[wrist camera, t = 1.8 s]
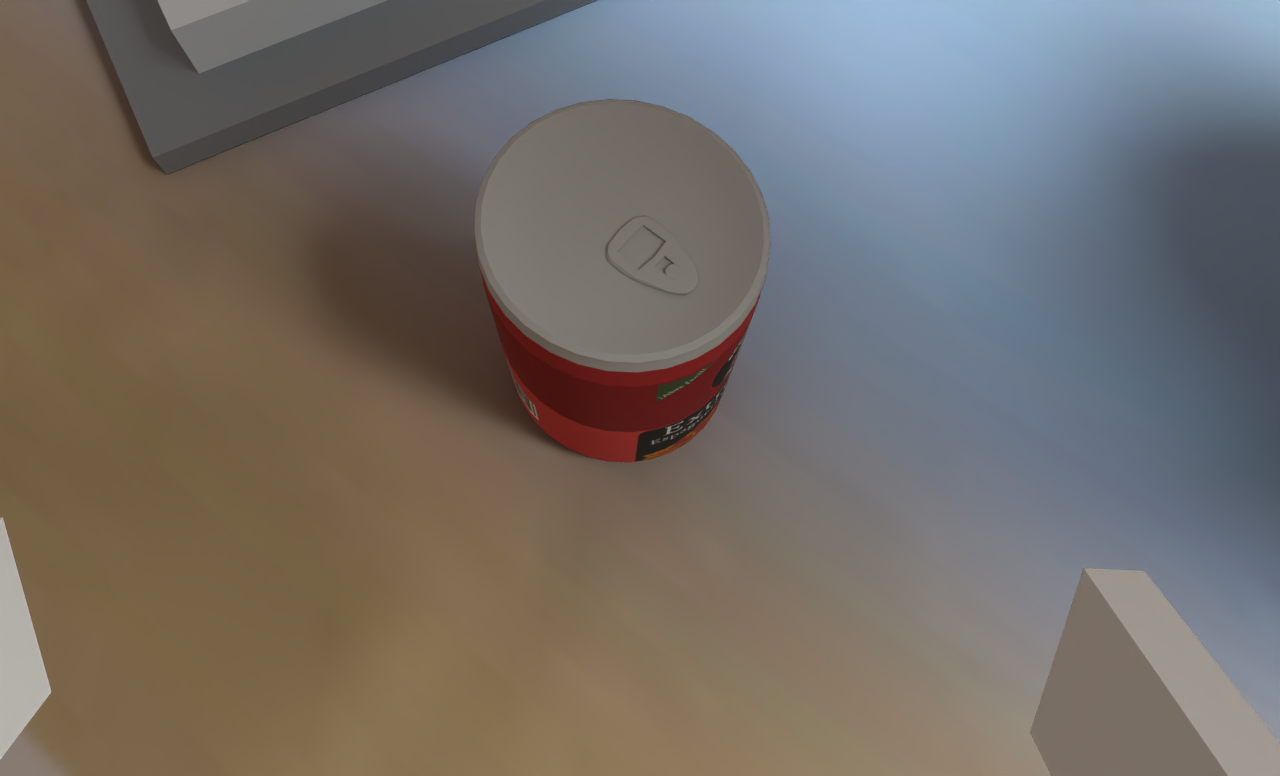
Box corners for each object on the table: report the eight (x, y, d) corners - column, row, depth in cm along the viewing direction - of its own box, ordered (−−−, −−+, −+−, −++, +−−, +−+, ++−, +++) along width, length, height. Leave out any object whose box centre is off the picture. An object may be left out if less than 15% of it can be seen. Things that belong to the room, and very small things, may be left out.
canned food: (674, 504, 34) (705, 413, 23) (473, 412, 34) (414, 283, 24) (757, 322, 36) (818, 165, 25) (566, 239, 37) (550, 54, 26)
